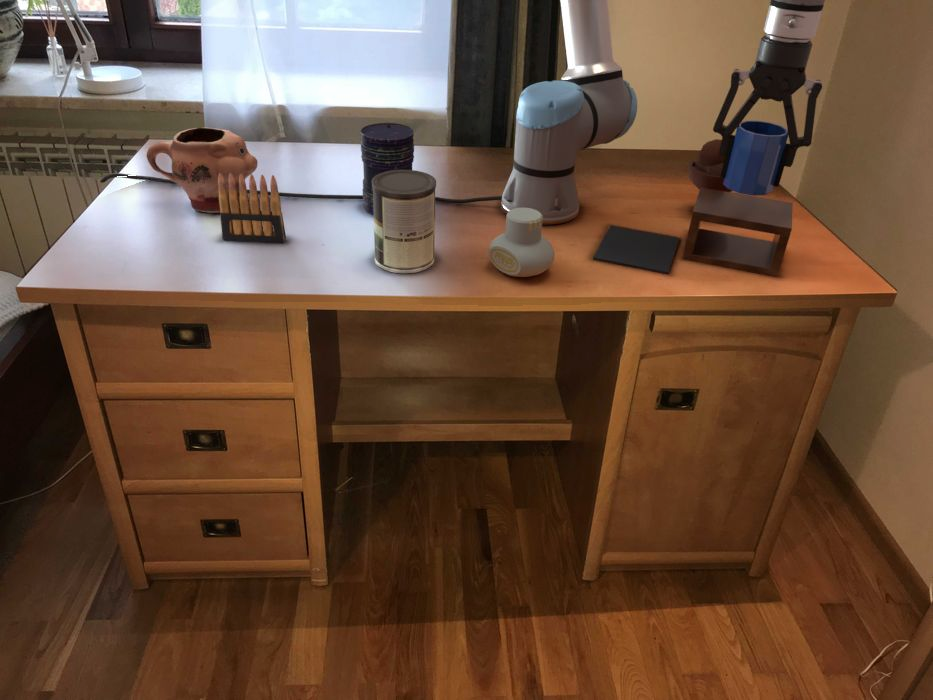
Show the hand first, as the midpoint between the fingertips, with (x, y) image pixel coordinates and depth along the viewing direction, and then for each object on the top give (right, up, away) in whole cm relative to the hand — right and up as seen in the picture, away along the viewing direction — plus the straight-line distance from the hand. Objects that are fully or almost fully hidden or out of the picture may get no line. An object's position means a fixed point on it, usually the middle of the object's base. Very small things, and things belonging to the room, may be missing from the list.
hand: (749, 179), depth 128 cm
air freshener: (-39, -16, -1) cm, 42 cm away
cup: (0, -1, +1) cm, 1 cm away
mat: (-17, -11, +8) cm, 22 cm away
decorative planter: (-97, -2, +16) cm, 98 cm away
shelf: (0, -12, +8) cm, 14 cm away
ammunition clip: (-85, -10, +5) cm, 86 cm away
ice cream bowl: (0, -2, +23) cm, 23 cm away
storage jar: (-63, -1, +19) cm, 66 cm away
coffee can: (-58, -14, 0) cm, 60 cm away
